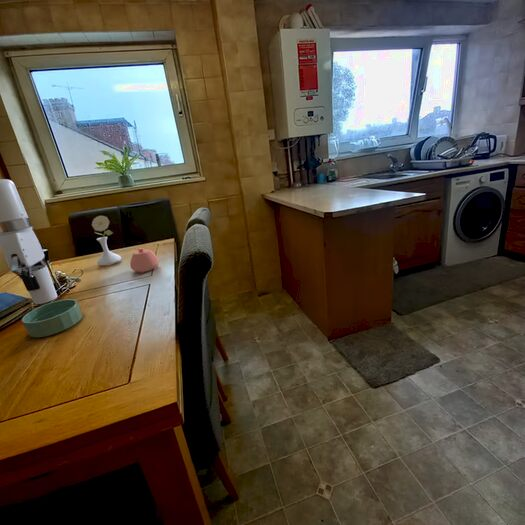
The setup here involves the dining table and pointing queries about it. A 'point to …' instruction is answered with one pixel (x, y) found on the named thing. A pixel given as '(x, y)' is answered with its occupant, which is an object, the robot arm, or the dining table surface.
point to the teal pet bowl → (52, 318)
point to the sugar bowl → (143, 260)
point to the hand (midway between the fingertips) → (39, 284)
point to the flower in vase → (104, 242)
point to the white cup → (43, 285)
